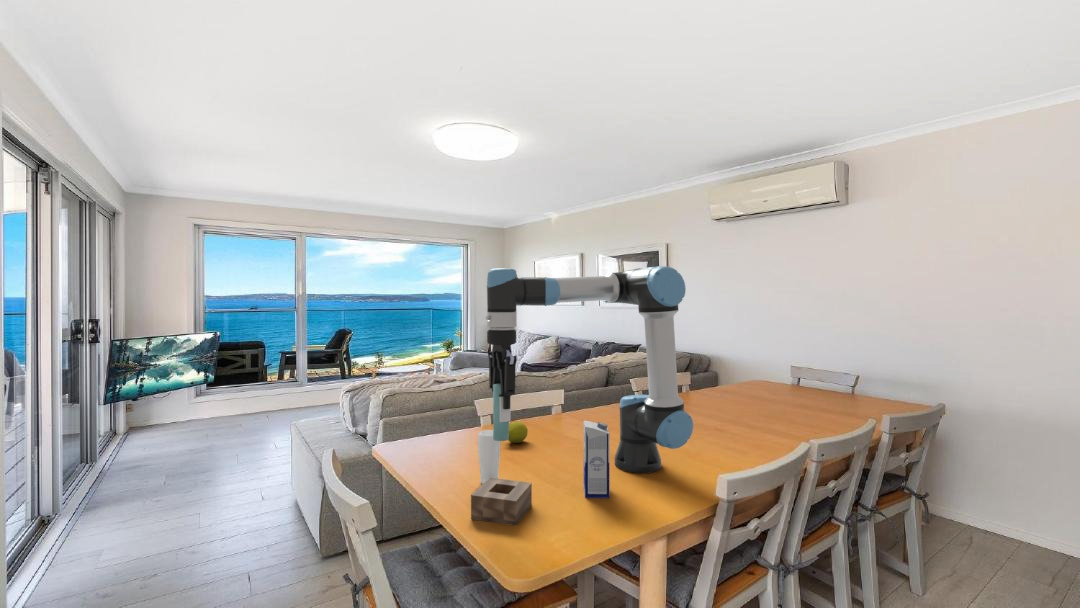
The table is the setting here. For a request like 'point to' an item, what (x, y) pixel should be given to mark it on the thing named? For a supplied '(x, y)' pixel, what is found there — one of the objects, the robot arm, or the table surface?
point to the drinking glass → (488, 455)
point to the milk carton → (596, 460)
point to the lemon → (517, 432)
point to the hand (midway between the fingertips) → (501, 419)
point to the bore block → (501, 501)
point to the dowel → (498, 417)
